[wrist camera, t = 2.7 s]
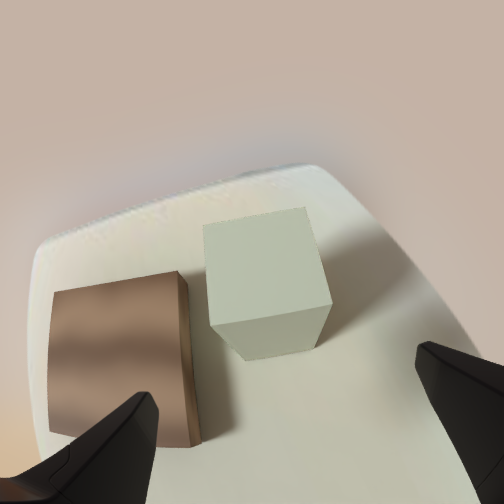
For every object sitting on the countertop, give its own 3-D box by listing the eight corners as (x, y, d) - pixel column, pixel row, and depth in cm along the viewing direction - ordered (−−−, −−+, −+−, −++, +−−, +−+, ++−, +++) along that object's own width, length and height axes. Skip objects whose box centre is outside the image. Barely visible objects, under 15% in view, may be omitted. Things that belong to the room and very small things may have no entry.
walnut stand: (201, 443, 17) (190, 447, 15) (67, 432, 17) (49, 431, 15) (187, 283, 24) (177, 270, 21) (69, 302, 24) (54, 292, 22)
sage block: (313, 349, 20) (332, 303, 11) (245, 361, 20) (209, 325, 11) (300, 287, 22) (304, 206, 14) (237, 298, 22) (203, 225, 14)
